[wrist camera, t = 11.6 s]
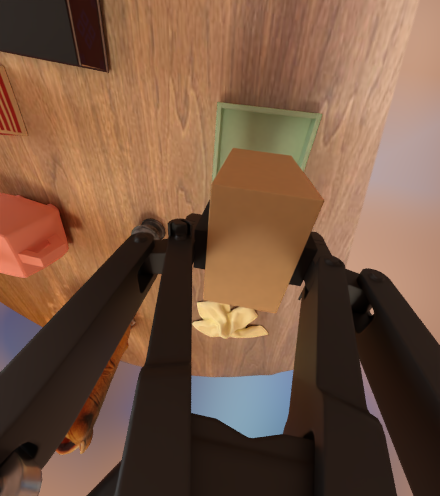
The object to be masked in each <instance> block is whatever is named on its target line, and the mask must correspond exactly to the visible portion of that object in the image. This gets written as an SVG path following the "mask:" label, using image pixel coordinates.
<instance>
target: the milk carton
mask: <svg viewBox="0 0 440 496" xmlns="http://www.w3.org/2000/svg"><path fill="white" fill-rule="evenodd" d="M0 135H20V136H28V134H27V131H26V128H25V125H24V122H23V119H22V116H21V113H20V110H19V107H18V104H17V102H16V99H15V96H14V93H13V90H12V88H11V85H10V82H9V79H8V77H7V74H6V71H5V68H4V66H0Z"/></svg>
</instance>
